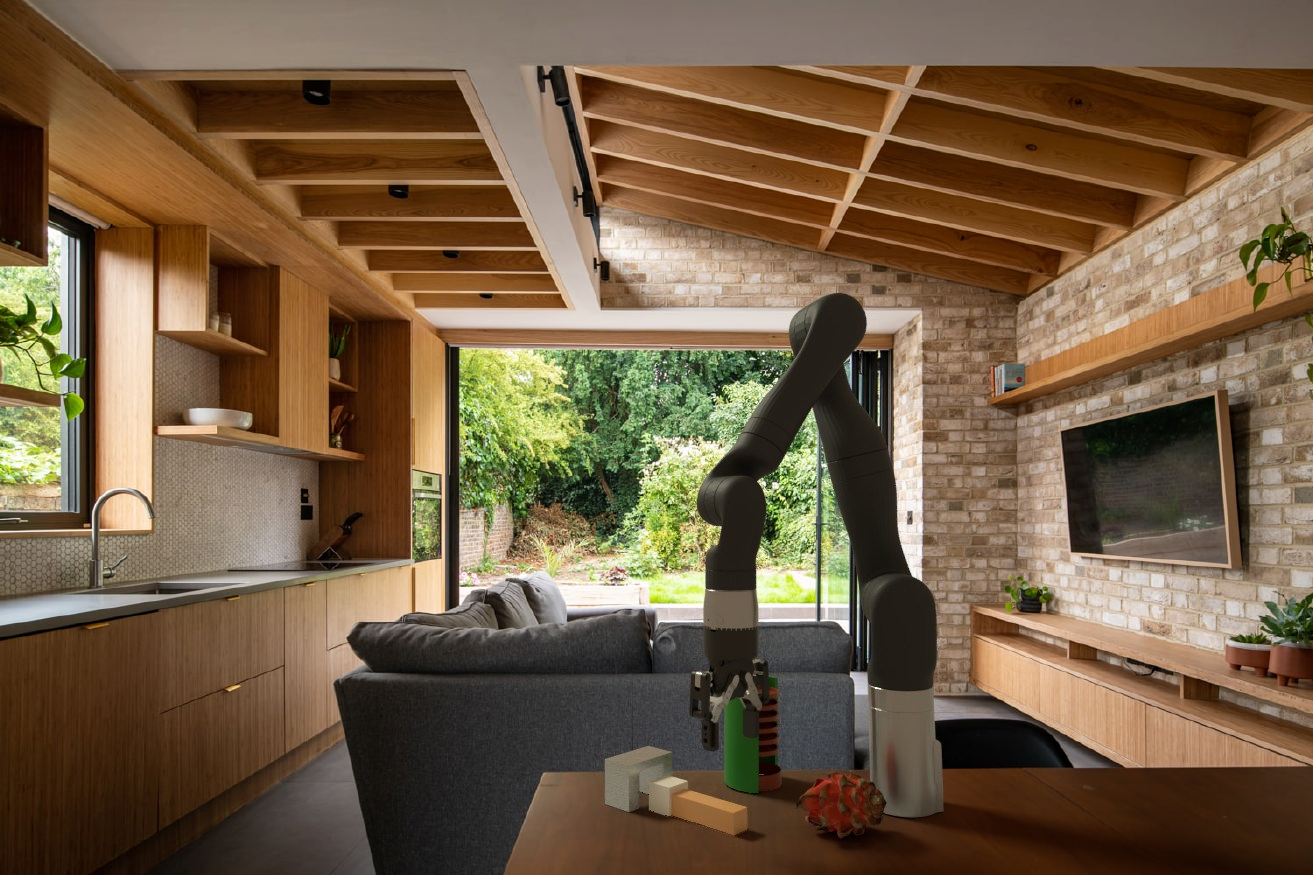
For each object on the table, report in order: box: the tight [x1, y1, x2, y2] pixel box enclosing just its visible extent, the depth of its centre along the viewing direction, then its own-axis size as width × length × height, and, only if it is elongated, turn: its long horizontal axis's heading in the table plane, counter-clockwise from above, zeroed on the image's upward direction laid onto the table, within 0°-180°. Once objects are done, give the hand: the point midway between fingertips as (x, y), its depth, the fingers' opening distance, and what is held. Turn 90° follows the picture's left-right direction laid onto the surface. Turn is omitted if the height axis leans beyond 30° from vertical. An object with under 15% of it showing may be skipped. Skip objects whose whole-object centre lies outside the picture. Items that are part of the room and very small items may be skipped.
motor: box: [723, 675, 783, 794], centre depth 134 cm, size 10×9×20 cm
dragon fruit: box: [794, 770, 887, 839], centre depth 114 cm, size 8×8×12 cm
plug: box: [648, 775, 748, 836], centre depth 119 cm, size 15×4×4 cm, turn 47°
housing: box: [604, 745, 673, 813], centre depth 127 cm, size 5×9×6 cm, turn 137°
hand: (731, 743), depth 115 cm, fingers open, 8 cm apart
